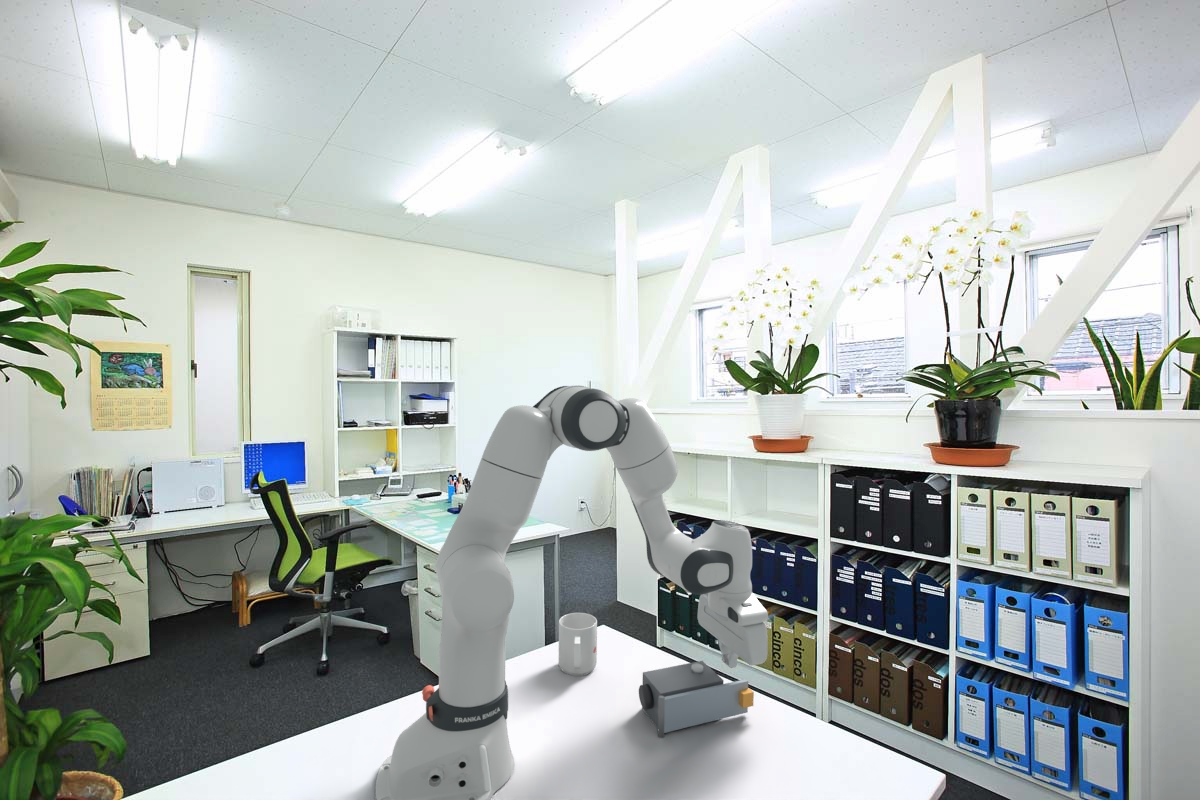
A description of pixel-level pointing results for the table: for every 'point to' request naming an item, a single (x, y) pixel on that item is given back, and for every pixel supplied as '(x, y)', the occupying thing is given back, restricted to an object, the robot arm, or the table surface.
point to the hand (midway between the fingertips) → (729, 664)
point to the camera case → (674, 684)
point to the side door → (703, 706)
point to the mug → (577, 643)
